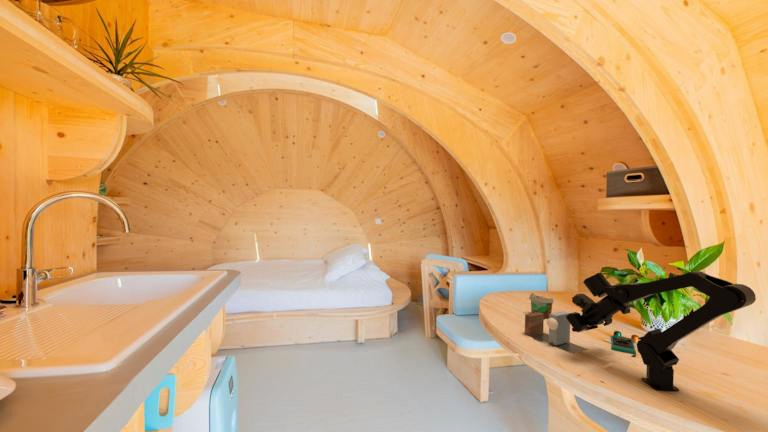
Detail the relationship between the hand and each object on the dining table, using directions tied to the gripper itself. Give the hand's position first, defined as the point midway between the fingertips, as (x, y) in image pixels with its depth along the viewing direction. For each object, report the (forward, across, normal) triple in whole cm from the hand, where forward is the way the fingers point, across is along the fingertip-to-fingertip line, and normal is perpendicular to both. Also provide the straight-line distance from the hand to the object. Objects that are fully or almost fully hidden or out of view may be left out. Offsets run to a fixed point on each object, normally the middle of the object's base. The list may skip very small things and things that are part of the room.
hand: (573, 330), depth 125 cm
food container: (+29, -24, -18) cm, 42 cm away
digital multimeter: (+1, -20, +11) cm, 22 cm away
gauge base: (+11, +1, 0) cm, 11 cm away
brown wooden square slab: (+17, 0, -6) cm, 18 cm away
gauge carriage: (+9, +1, 0) cm, 9 cm away
